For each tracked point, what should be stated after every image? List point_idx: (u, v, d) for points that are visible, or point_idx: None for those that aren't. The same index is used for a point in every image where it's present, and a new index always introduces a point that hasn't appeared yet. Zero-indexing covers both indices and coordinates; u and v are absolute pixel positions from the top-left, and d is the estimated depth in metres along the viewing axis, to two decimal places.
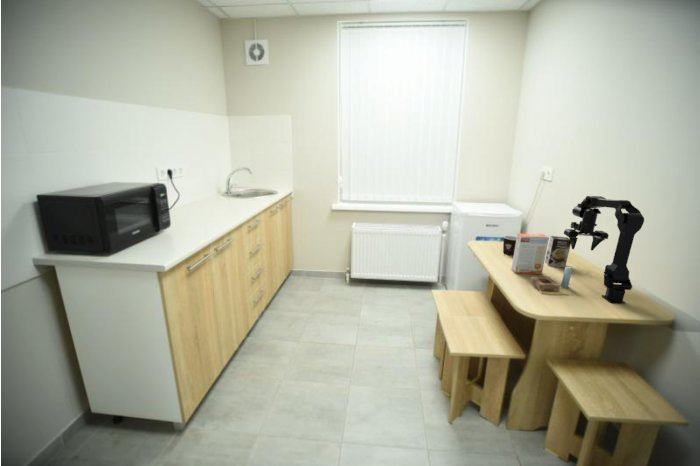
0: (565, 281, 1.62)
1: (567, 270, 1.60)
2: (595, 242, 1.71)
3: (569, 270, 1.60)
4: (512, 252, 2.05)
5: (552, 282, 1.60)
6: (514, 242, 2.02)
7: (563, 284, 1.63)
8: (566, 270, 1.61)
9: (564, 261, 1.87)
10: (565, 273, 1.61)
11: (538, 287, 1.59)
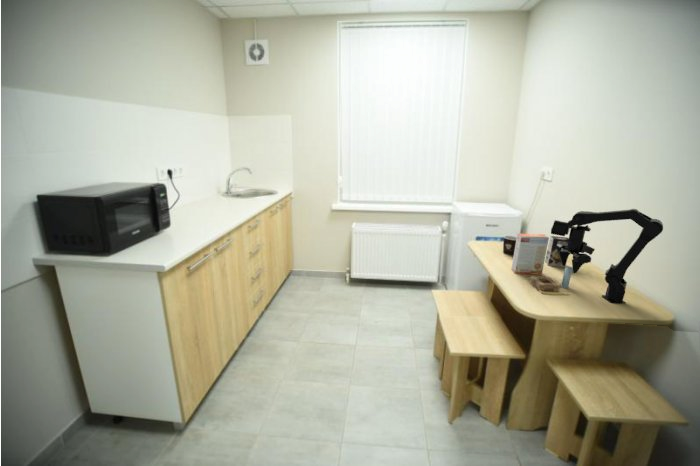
0: (565, 281, 1.62)
1: (567, 270, 1.60)
2: None
3: (569, 270, 1.60)
4: (512, 252, 2.05)
5: (552, 282, 1.60)
6: (514, 242, 2.02)
7: (563, 284, 1.63)
8: (566, 270, 1.61)
9: None
10: (565, 273, 1.61)
11: (538, 287, 1.59)
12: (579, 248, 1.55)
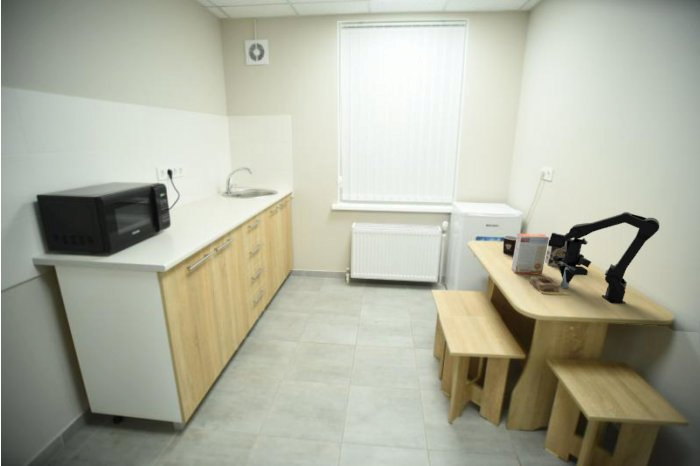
0: (565, 281, 1.62)
1: (567, 269, 1.60)
2: None
3: None
4: (512, 252, 2.05)
5: (552, 282, 1.60)
6: (514, 242, 2.02)
7: (563, 284, 1.63)
8: None
9: None
10: (565, 273, 1.61)
11: (538, 287, 1.59)
12: (576, 261, 1.57)
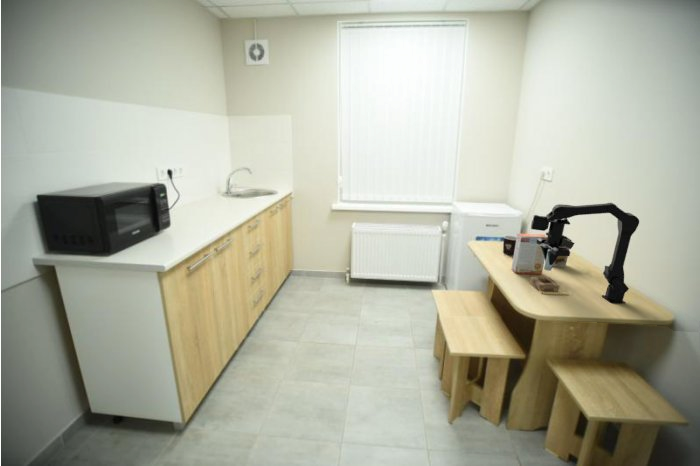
0: (548, 263, 1.58)
1: None
2: None
3: None
4: (512, 252, 2.05)
5: (552, 282, 1.60)
6: (514, 242, 2.02)
7: (546, 266, 1.59)
8: None
9: (564, 261, 1.87)
10: None
11: (538, 287, 1.59)
12: (558, 242, 1.53)
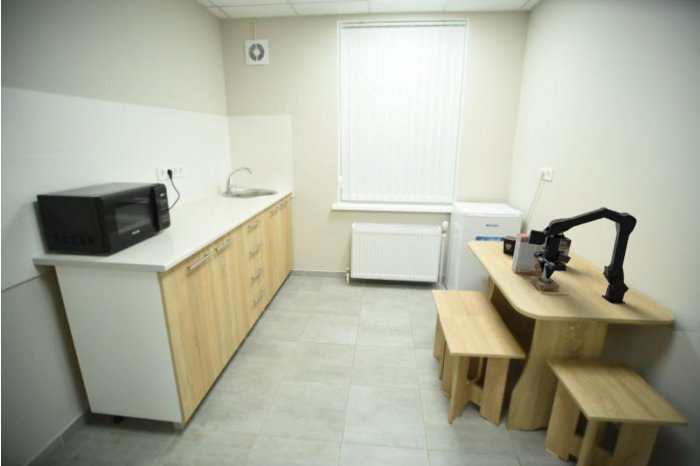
0: (545, 277, 1.60)
1: None
2: None
3: None
4: (512, 252, 2.05)
5: (552, 282, 1.60)
6: (514, 242, 2.02)
7: (543, 280, 1.61)
8: None
9: None
10: None
11: (538, 287, 1.59)
12: (555, 256, 1.55)
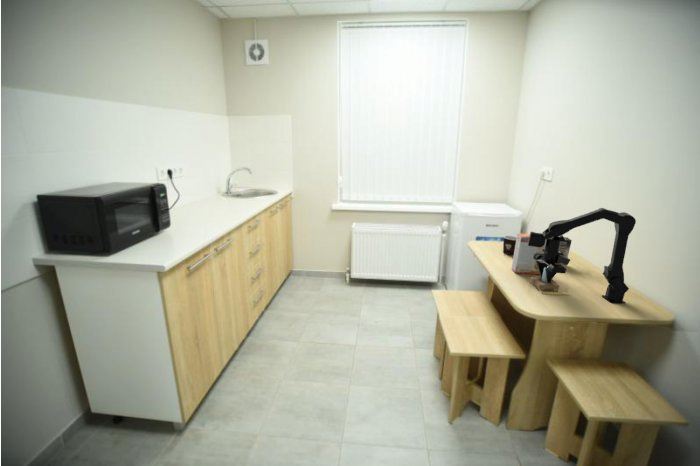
0: (544, 282, 1.60)
1: None
2: None
3: None
4: (512, 252, 2.05)
5: (552, 282, 1.60)
6: (514, 242, 2.02)
7: None
8: (545, 271, 1.59)
9: None
10: (544, 274, 1.60)
11: (538, 287, 1.59)
12: (555, 259, 1.55)
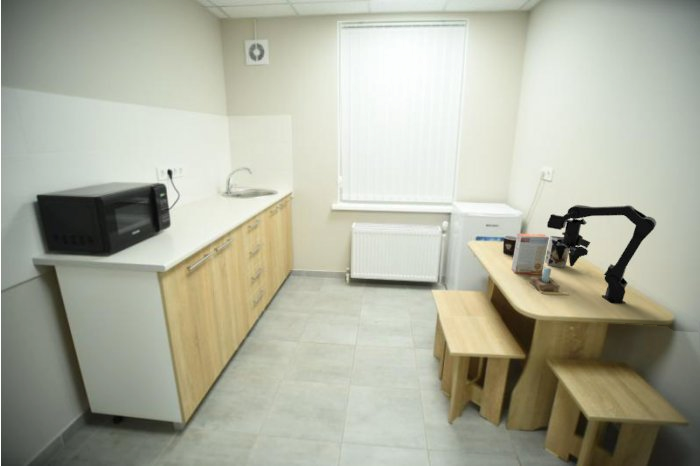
0: (544, 282, 1.60)
1: (545, 270, 1.59)
2: None
3: (548, 271, 1.58)
4: (512, 252, 2.05)
5: (552, 282, 1.60)
6: (514, 242, 2.02)
7: None
8: (545, 271, 1.59)
9: (564, 261, 1.87)
10: (544, 274, 1.60)
11: (538, 287, 1.59)
12: (575, 241, 1.57)
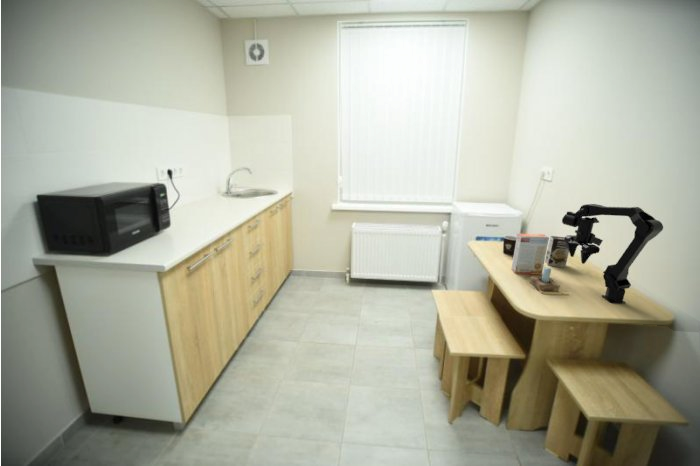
0: (544, 282, 1.60)
1: (546, 270, 1.59)
2: None
3: (548, 271, 1.58)
4: (512, 252, 2.05)
5: (552, 282, 1.60)
6: (514, 242, 2.02)
7: None
8: (545, 271, 1.59)
9: (564, 261, 1.87)
10: (544, 274, 1.60)
11: (538, 287, 1.59)
12: (588, 239, 1.60)
